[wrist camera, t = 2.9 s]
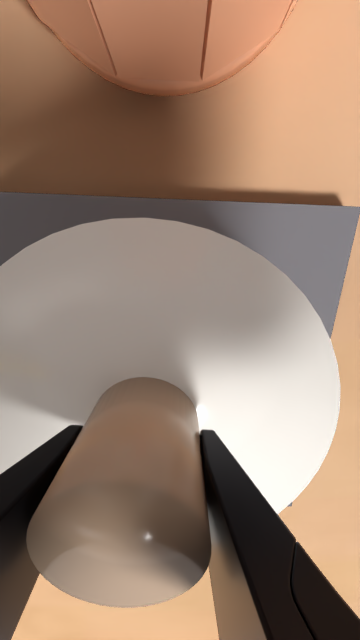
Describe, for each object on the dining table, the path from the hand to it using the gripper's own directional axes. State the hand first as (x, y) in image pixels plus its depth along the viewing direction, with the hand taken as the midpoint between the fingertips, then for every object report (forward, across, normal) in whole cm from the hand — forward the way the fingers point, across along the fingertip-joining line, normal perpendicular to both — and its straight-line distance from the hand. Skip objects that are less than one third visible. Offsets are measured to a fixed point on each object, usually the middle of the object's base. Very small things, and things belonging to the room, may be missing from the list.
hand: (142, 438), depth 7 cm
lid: (+2, 0, 0) cm, 2 cm away
